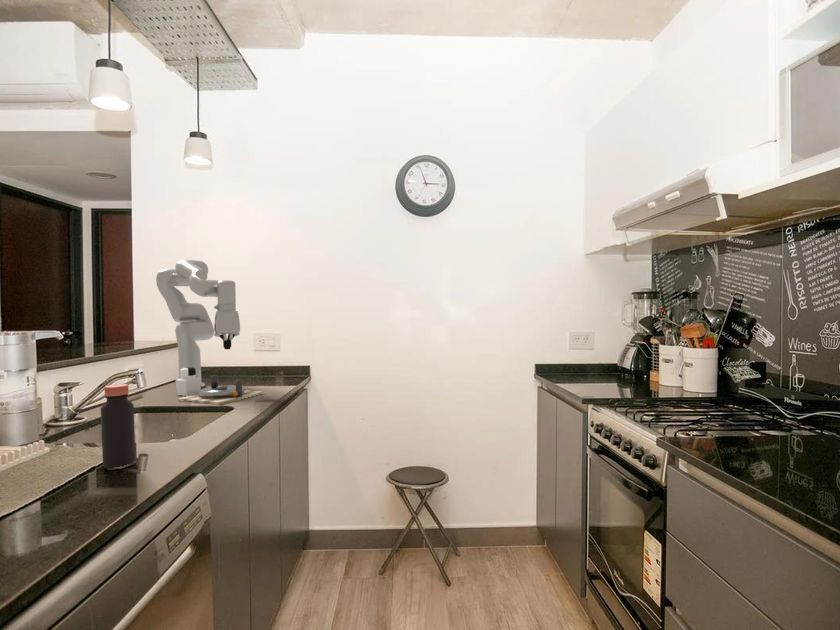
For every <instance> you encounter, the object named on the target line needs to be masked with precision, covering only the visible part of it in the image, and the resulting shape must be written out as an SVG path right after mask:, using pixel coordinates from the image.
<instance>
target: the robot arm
mask: <svg viewBox="0 0 840 630" xmlns="http://www.w3.org/2000/svg"><path fill="white" fill-rule="evenodd" d="M208 274H209V267H208V265H207V263H205V262H204V261H203V260H192V259H182V260H179V261H178V262H177V263H176V264H175V266H174V268H164V269H161V270H160V271H158V272H157V274H156V277H155V282H156V283H155V284H156V287H157V289H158V291H159V293H160V295H161V296H162V297H163V299H164V301H165V303H166V305H167V308H168V310H169V313H170V315H171V317H172V320H173V321H174V322H175V323H178V324H177V325H176V327H175V329H174V331H175V332H174V333H175V338H176V343H177V349H178V351H177V353H178V355H177V356H178V378H177V379H181V373H180V370H181V369H182V368H187V367H193V368H195V369H196V376H195V378H200V382H201V388H203V387H205V386H206V384H205V382H202V366H201V365H202V364H201V362H202V361H201V348H200V347H199V345H198V344H197V342H199V341H208V340H211V339H212V338H213V337H216V338H217V337H218V338H220V339H221V340H223V343H222V345H223V349H224V350H231V348H232V340H233V339H234V338H235V337H238V336H240V335H241V334H240V332H241V322H240V321H241V320H240V316H239V311H238V310H237V307H236V305H237V302H236V300H237V299H236V298H237V297H236V296H237V295H236V293H237V292H236V291H237V288H236V282H235V281H233V280H227V279H226V280H218V279H217V280H216V279H208ZM177 287H189V289H190V291H192V292H193V293H194V294H196V295H197V296H199V297H203V298H207V297H208V298H209V297H210V298H211V297H213V298H217V304H216V305H213V308H214V310H215V309H216V310H217V311H216V312H215V315H214V323H213V322H212V320H211V318H210V315H209V313H208V311H207V309H206V308H205V306H204V305H203V304H201V303H197V302H188V301H187V299H186V298H185V295H184V293H182V292H181V291H180V289H178V288H177ZM177 379H175V380H174V381H175V383H176V380H177Z"/></svg>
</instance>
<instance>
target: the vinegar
mask: <svg viewBox="0 0 840 630" xmlns="http://www.w3.org/2000/svg"><path fill="white" fill-rule="evenodd" d="M129 393H130V392H129V384H128V383H119V384H117V383H116V384H110V385H105V386H104V396H105V399H106V402H104V404H103V405H102V406H101V407H100V423H101V424H100V425H101V426H100V427H101V428H100V429H101V449H102V450H101V451H102V467H103V466H104V467H106V468H114V467H120V466H124V465H127V464H130V463H133V462H134V461H135V460H137V459H136V436H135V408H134V407H135V406H134V403H133V402H132V401H130V400H129V399H128V396H129Z"/></svg>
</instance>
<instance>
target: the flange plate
mask: <svg viewBox="0 0 840 630" xmlns="http://www.w3.org/2000/svg"><path fill="white" fill-rule="evenodd" d="M210 381H211V382H210V385H211V386H209V387H204V388H201V390H199V395H200V396H204V397H219V396H229V395H231V396H236V395H238V392H237V391H236V384H235V385H234V384H233V385H232V384H229V385H227V384H226V385H225V384H224V385H219V380H218V375H211V376H210ZM244 390H245V386H243V385H242V392H244Z"/></svg>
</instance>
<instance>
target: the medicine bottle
mask: <svg viewBox="0 0 840 630" xmlns="http://www.w3.org/2000/svg"><path fill="white" fill-rule="evenodd" d="M180 373H181V379H178V378H177V380H176V379H175V380H176V382H175V384H176V385H175V389H176V395H177V396H178V395H182V396H181V397H185V396H191V395H195V394H199V390H201V389H202V387H201V383H202V381H201V382H200V378H195V376H196V369H195V368H193V367H187V368H182V369H181V370H180Z"/></svg>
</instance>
